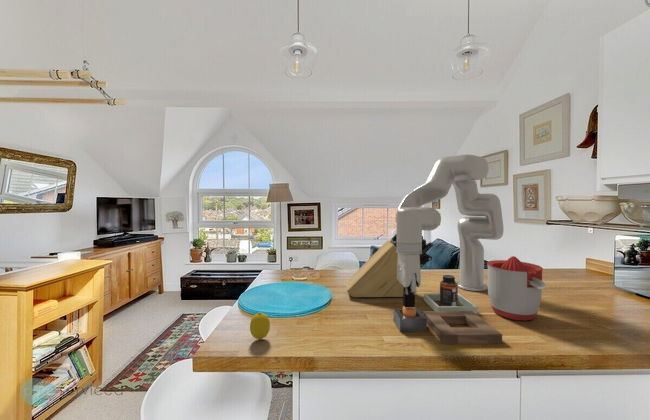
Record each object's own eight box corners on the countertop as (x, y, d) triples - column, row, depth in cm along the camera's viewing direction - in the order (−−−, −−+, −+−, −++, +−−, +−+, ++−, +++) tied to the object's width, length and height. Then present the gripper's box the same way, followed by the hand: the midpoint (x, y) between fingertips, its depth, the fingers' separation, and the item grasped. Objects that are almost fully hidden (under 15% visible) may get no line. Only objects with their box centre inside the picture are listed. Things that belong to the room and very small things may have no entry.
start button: (401, 317, 87) (401, 305, 87) (413, 317, 87) (413, 305, 87) (404, 323, 83) (404, 310, 83) (417, 323, 83) (417, 310, 83)
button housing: (393, 320, 89) (393, 308, 89) (417, 319, 89) (417, 307, 89) (399, 331, 81) (399, 318, 81) (426, 331, 81) (426, 318, 81)
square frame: (422, 318, 90) (422, 311, 90) (471, 318, 90) (471, 310, 90) (443, 343, 74) (443, 334, 74) (502, 343, 74) (502, 334, 74)
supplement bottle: (459, 310, 97) (459, 278, 96) (441, 309, 98) (441, 278, 98) (455, 304, 103) (455, 274, 102) (438, 303, 104) (438, 273, 103)
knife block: (435, 298, 109) (435, 221, 108) (347, 298, 110) (346, 222, 109) (425, 289, 120) (425, 219, 119) (345, 289, 121) (344, 220, 120)
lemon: (252, 335, 80) (251, 309, 80) (271, 334, 81) (270, 308, 81) (248, 345, 75) (247, 317, 75) (268, 344, 75) (268, 316, 75)
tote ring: (423, 299, 107) (423, 293, 107) (458, 299, 107) (458, 293, 107) (437, 314, 94) (437, 307, 93) (477, 314, 93) (477, 306, 93)
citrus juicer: (522, 330, 82) (523, 264, 81) (476, 308, 98) (476, 253, 98) (560, 323, 86) (561, 260, 85) (509, 303, 103) (510, 250, 102)
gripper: (391, 244, 92) (391, 298, 93) (403, 252, 77) (403, 316, 78) (413, 244, 92) (413, 297, 93) (430, 252, 77) (430, 316, 78)
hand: (408, 306), depth 85 cm, fingers closed
